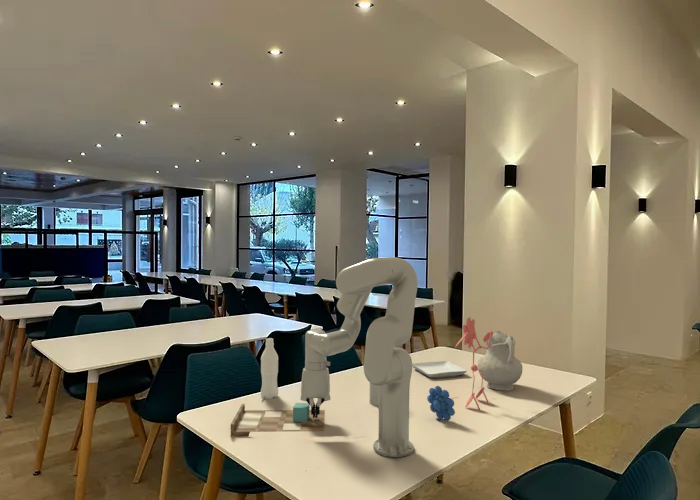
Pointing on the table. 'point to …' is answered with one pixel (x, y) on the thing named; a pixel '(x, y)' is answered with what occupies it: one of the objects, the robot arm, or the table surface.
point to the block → (301, 412)
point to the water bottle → (269, 370)
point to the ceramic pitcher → (500, 363)
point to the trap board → (270, 422)
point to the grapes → (441, 403)
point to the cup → (374, 395)
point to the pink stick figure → (469, 336)
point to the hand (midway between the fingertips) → (315, 416)
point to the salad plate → (439, 369)
